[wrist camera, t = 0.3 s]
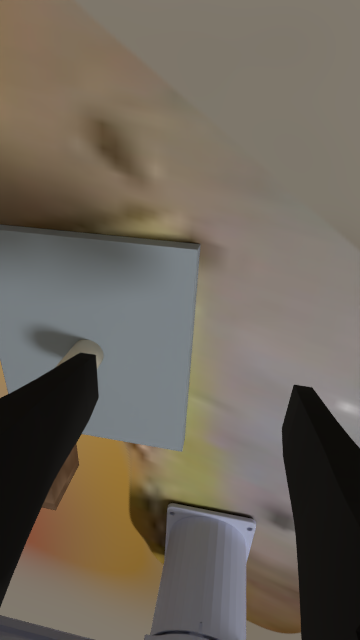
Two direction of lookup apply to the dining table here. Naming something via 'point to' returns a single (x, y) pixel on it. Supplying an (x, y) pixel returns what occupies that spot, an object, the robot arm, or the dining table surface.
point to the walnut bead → (62, 480)
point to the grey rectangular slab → (103, 323)
